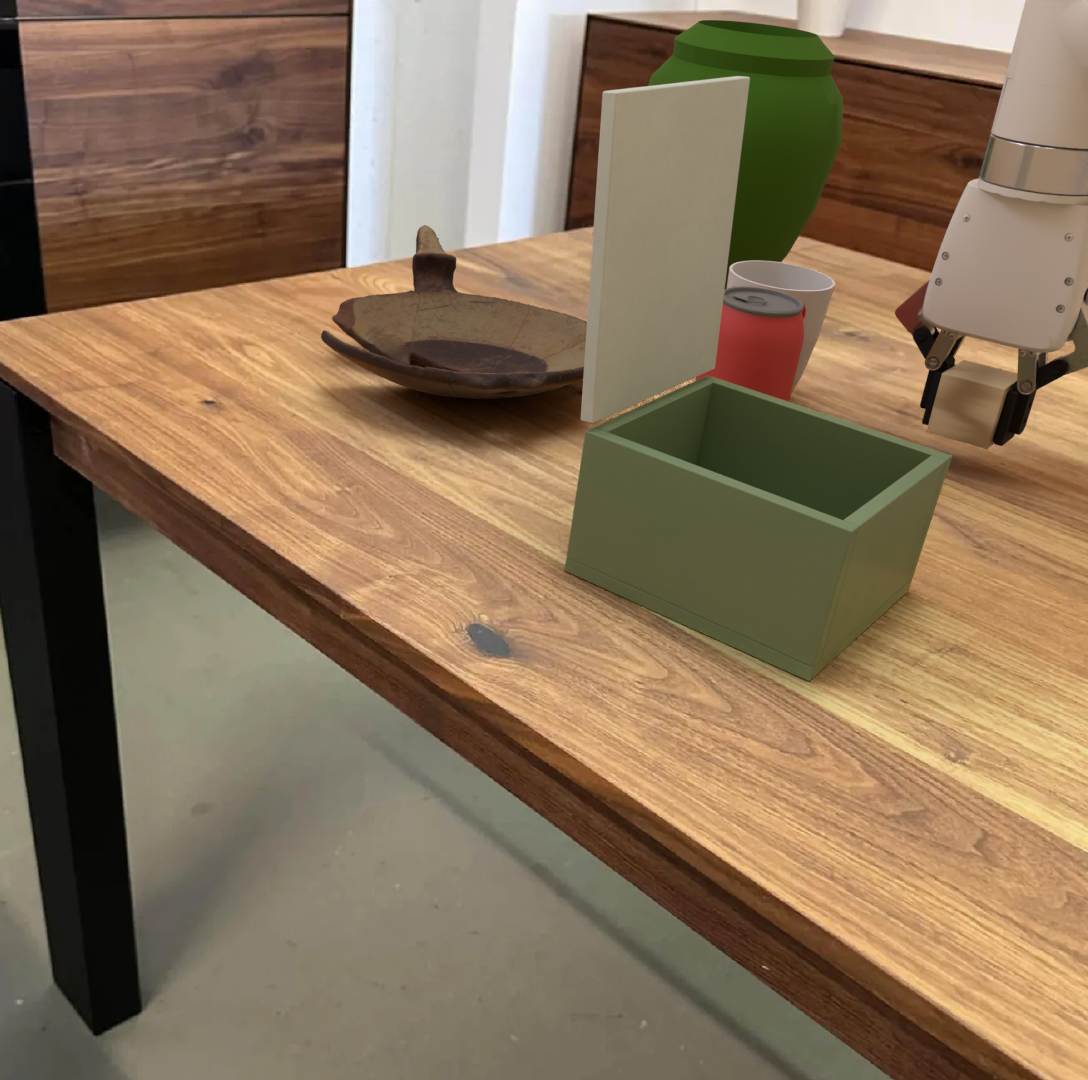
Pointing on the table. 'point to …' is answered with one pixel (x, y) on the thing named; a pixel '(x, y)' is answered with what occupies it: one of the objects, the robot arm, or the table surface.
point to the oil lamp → (459, 336)
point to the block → (970, 403)
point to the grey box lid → (660, 237)
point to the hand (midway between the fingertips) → (968, 427)
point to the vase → (769, 124)
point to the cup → (793, 281)
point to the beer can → (759, 340)
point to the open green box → (753, 519)
